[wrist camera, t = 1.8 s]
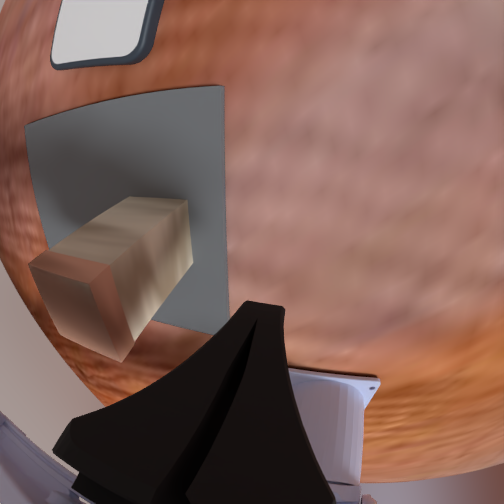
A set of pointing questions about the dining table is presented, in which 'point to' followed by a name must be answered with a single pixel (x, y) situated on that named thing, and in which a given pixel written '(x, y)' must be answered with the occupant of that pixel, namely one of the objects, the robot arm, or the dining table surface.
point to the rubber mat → (143, 181)
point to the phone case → (104, 32)
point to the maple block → (115, 272)
